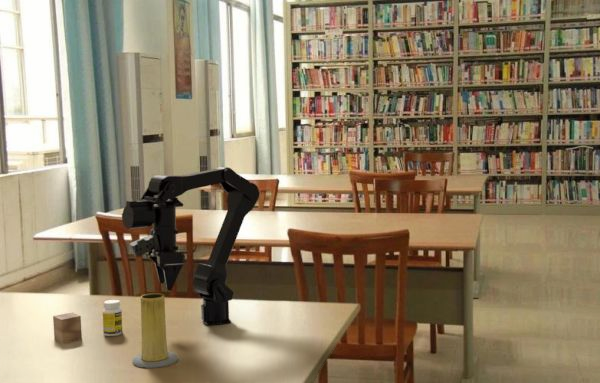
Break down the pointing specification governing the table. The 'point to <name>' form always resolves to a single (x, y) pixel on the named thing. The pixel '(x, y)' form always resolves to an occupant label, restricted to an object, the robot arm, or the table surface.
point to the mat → (168, 361)
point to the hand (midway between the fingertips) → (165, 286)
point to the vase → (153, 328)
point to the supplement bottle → (112, 318)
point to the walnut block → (67, 327)
